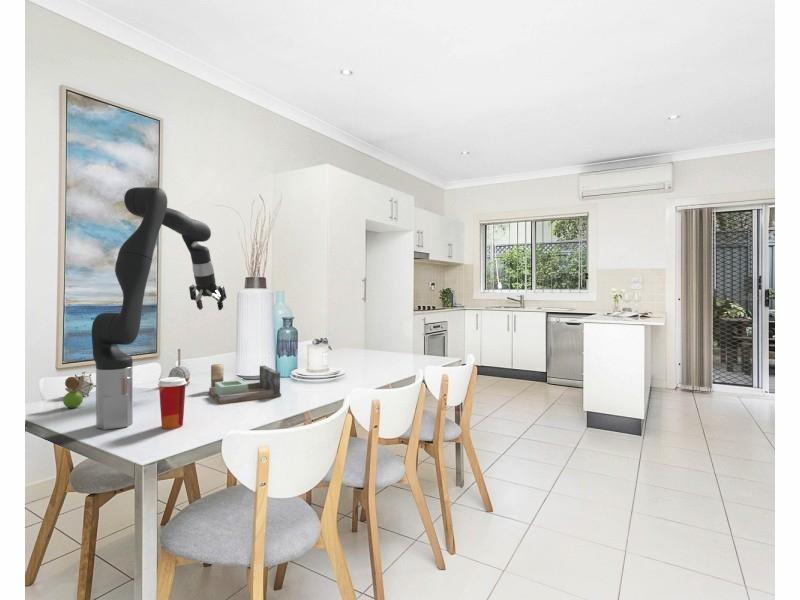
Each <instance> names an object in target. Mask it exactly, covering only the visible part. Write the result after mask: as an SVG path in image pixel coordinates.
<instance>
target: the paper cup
mask: <svg viewBox="0 0 800 600" xmlns="http://www.w3.org/2000/svg"><path fill="white" fill-rule="evenodd" d="M186 383H187V382H186V381H185V378H181V377H170V378H168V377H165V378H161V379H159V381H158V383H157V386H158V388H159V389H158V390H159V391H158V392H159V393H158V394H159V405H160V406H159V407H160V408H159V409H160V418H161V419H160V421H161V429H164V430H173V429H178V428H180V427H183V425H184V413H185V398H186V386H187V385H186Z"/></svg>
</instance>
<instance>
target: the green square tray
mask: <svg viewBox="0 0 800 600" xmlns="http://www.w3.org/2000/svg"><path fill="white" fill-rule="evenodd" d="M215 393H216V394H217V395H218V396H222V395H231V394H239V393H248V384H247V382H245V381H244V380H242V379H235V380H233V379H232V380H225V381H224V380H223V382H215Z"/></svg>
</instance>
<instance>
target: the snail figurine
mask: <svg viewBox="0 0 800 600" xmlns="http://www.w3.org/2000/svg"><path fill="white" fill-rule="evenodd" d="M81 373H82V375H79V376H80V382H79V380H78V379H77V378H76V377H75V376H70V377H67V378H66V379H65V381H64V385H65V387H66V388H64V390H65V391H66V392H67V393H65V395H64V397H63V399H62V402H63V405H64V406H65V407H67V408H70V409H74V408H77V407H79V406H80V405H81V404H82V403H83V400H84V397H83V396H84V395H82V394H81V393H79V392H77V391H79V390H80V389H81V388H82V386H83V383H84V378H85V376H86V375H85V373H86V371H83V372H81Z"/></svg>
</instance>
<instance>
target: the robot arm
mask: <svg viewBox="0 0 800 600" xmlns="http://www.w3.org/2000/svg"><path fill="white" fill-rule="evenodd" d="M123 197H124V198H123V200H124V201H123V202H124V205H125V207H126V209H127V212H129V213H131V214H132V215H134V216H136V217H139V218H142V220H141V222H140V224H139V226H138V228H137V229H136V230H135V231H134V232H133V233H132V234H131V235H130V236H129V237H128V238H127V239H126V240H125V242H124V243H122V245H121V246H120V248H119V251H118V255H117V258H116V262H115V266H114V272H115V277H116V279H117V282H118V284H119V286H120V288H121V292H122V297H123V298H122V306H121V310H120V312H102V313H99V314H98V315H96V317H95V318H94V320H93V322H92V326H91V343H92V357H93V360H94V362H95V385H96V387H95V413H96V414H95V416H96V417H95V421H96V422H95V427H96V428H97V429H101V430H102V431H107V430H112V429H113V430H114V429H121V428H127V427H128V428H129V426H130V425H131V424H133V418H134V413H133V412H134V411H133V407H134V406H133V405H134V404H133V403H134V402H133V401H134V400H133V397H134V396H133V392H134V391H133V390H134V389H133V374H134V373H133V358H132V356H131V355H129V354H128V353H126V352H123V351H122V350H121V349H120V348H119V346H120V345H123V346H124V345H126V346H127V345H130V344H133V343H134V342H135V340H136V339H137V337H138V335H139V331H140V327H141V322H142V321H141V320H142V312H143V304H144V298H145V297H144V296H145V291H146V287H147V284H148V283H147V282H148V279H149V275H150V271H151V266H152V261H153V256H154V251H155V248H156V243H157V240H158V236H159V234H160V233H159V232H160V230H161V228H162V225H163V227H167V228H169V229H170V230H172V231H174V232H176V233H177V234H179V235H181V238H182V240H183V242H184V244H185V246H186V248H187V250H188V252H189V254H190V259H191V262H192V263H191V265H192V271H193V272H192V273H193V276H194V277H193V279H194V281H195V282H194V283H195V284H191V285H190V286H189V287H188V289H189V295H190V300H191V301H195V302H196V308H197V309H198V310H202V309H203V308H204V307H203V301H202V297H210V298H213V299H215V301H217V302H216V303H217V309H218V311H221V310H222V309H223V308H224V303H223V301H225V300H226V299H227V293H226V290H225V285H219V286H218V285H217V284H216V277H215V276H216V275H215V272H214V271H215V270H214V265H213V263H212V258H211V254H210V253H211V252H210V250H209V249H210V248H208V247H207V246H204V245H201V244H199V242H201V243H202V242H203V243H204V242H207V241H208V240H210V238H211V236H212V230H211V228H210V227H209V225H208V224H206V223H205V222H203V221H199V220H197V219H193V218H191V217H189V216H188V215H186V214H184V212H183V213H182V212H181V211H179V210H177V209H176V210H175V209H173V208H170V207H168V196H167V194H166V192H165V190H163V189H162V188H159V187H151V186H150V187H147V186H146V187H143V186H142V187H138V186H137V187H131V188H129V189H127V190H126V192H125V194H124V196H123ZM196 290H197V291H198V294H197V291H196Z"/></svg>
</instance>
